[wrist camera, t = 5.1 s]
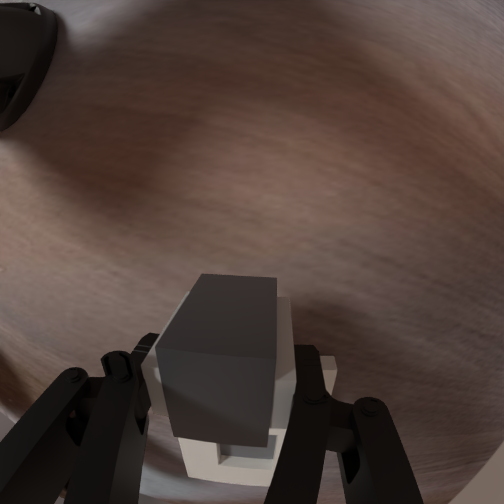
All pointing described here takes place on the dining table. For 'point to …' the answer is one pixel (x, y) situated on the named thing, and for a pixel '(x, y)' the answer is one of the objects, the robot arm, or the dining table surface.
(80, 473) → the robot arm
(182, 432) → the plug
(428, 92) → the dining table surface
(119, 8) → the dining table surface
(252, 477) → the faceplate
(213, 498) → the dining table surface
